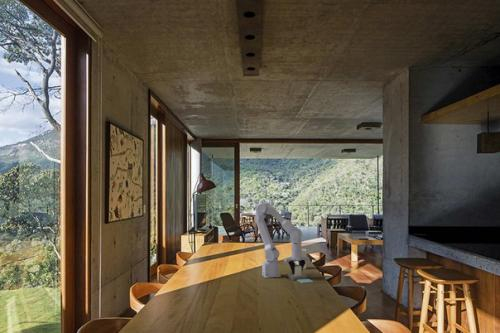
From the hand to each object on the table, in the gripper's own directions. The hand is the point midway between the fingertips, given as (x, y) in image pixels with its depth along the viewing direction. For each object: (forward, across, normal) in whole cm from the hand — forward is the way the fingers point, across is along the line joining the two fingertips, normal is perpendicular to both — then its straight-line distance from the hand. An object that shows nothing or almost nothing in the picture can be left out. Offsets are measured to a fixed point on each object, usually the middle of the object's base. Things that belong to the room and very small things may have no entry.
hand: (296, 273), depth 228 cm
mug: (+3, +12, +25) cm, 28 cm away
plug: (+2, 0, 0) cm, 2 cm away
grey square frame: (+2, 0, 0) cm, 2 cm away
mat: (+2, +1, -10) cm, 10 cm away
